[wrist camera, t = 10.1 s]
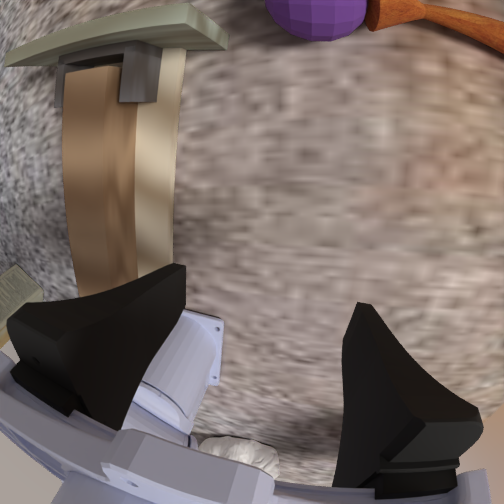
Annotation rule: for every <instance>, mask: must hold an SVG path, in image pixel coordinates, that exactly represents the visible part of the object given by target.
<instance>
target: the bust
mask: <svg viewBox="0 0 504 504" xmlns="http://www.w3.org/2000/svg"><path fill="white" fill-rule="evenodd" d="M198 450H199V451H202V452H206V453H209V454H213V455H216V456H220V457H224V458H228V459H232V460H236V461H240V462H243V463H246V464H249V465H252V466H255V467H258V468H260V469H262V470H263V471H265V472H267V473H268V474H270V475H271V476H272V477H273V479H275V478H276V477H277V476H278V475H279V474H280V473H279V467H280V464H279V458H278V454H277V451H276V450H275V449H274V448H273V447H270V446H267V445H264V444H261V443H259V442H257V441H256V440H253V439H251V440H247V439H240V438H234V437H230V436H224V437H220V438H218V437H214V438H207V439H205V440H204V441H203V442H202V443H201V444H200V446H199V447H198Z"/></svg>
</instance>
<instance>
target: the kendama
mask: <svg viewBox="0 0 504 504" xmlns="http://www.w3.org/2000/svg"><path fill="white" fill-rule="evenodd" d="M265 5H266V8H267V10H268V11H269V13H270V14H271V16H272V18H273V19H274V21H275V22H276V23H277V24H278V25H280V26H281V27H282V28H284V29H285V30H286V31H287V32H289V33H290V34H292V35H295V36H298V37H301V38H304V39H306V40H309V41H333V40H336V39H339V38H342V37H345V36H348V35H349V34H350V33H352V32H353V31H354V30H355V29H356V28H357V27H358V26H360V25H361V23H362V22H363V20H364V19H365V22H366V26H367V27H368V29H369V31H372V32H374V31H377V30H380V29H384V28H387V27H391V26H394V25H398V24H402V23H405V22H409V21H413V20H418V19H422V18H423V19H426V20H429V21H432V22H435V23H437V24H440V25H443V26H445V27H448V28H450V29H453V30H455V31H458V32H460V33H462V34H465V35H467V36H469V37H471V38H473V39H476V40H478V41H480V42H482V43H484V44H486V45H488V46H490V47H492V48H494V49H496V50H497V51H499V52H501V53H503V54H504V22H502V21H498V20H495V19H492V18H488V17H485V16H481V15H478V14H474V13H470V12H465V11H461V10H456V9H451V8H446V7H441V6H435V5H428V4H422V3H421V2H420V1H418V0H265Z"/></svg>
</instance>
